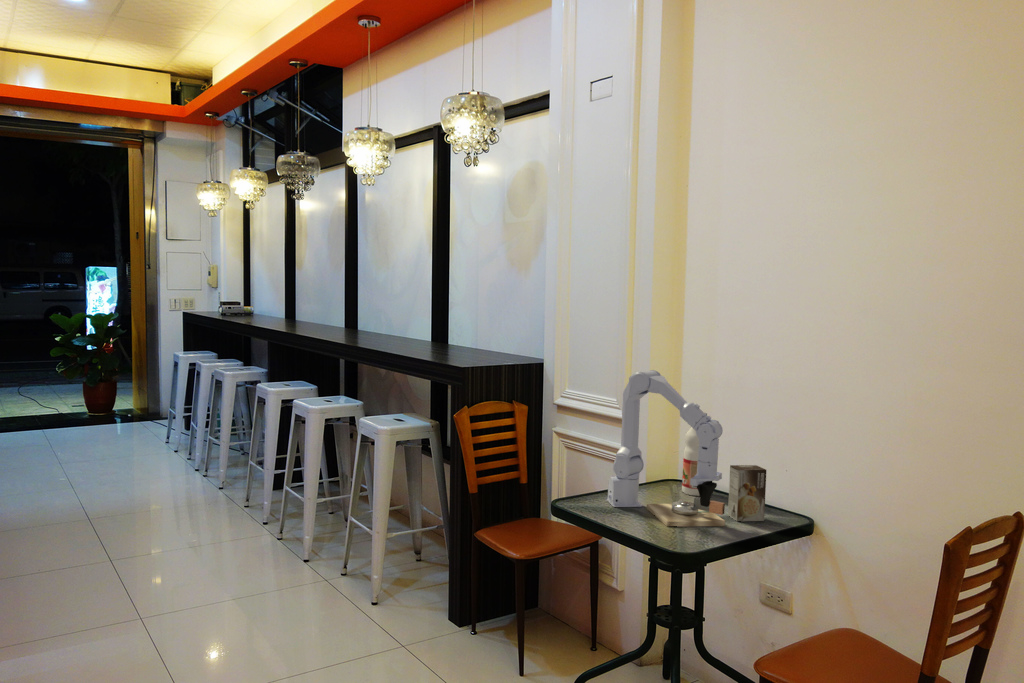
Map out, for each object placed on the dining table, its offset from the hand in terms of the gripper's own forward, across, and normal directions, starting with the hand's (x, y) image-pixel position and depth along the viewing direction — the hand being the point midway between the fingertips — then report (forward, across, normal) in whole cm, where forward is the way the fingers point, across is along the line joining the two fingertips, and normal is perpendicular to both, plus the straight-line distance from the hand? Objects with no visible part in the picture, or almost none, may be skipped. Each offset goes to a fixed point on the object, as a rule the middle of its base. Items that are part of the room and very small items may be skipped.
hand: (704, 505), depth 216 cm
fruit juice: (+5, +28, +20) cm, 35 cm away
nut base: (+5, 0, +7) cm, 9 cm away
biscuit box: (+5, +15, -6) cm, 17 cm away
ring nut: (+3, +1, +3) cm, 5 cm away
